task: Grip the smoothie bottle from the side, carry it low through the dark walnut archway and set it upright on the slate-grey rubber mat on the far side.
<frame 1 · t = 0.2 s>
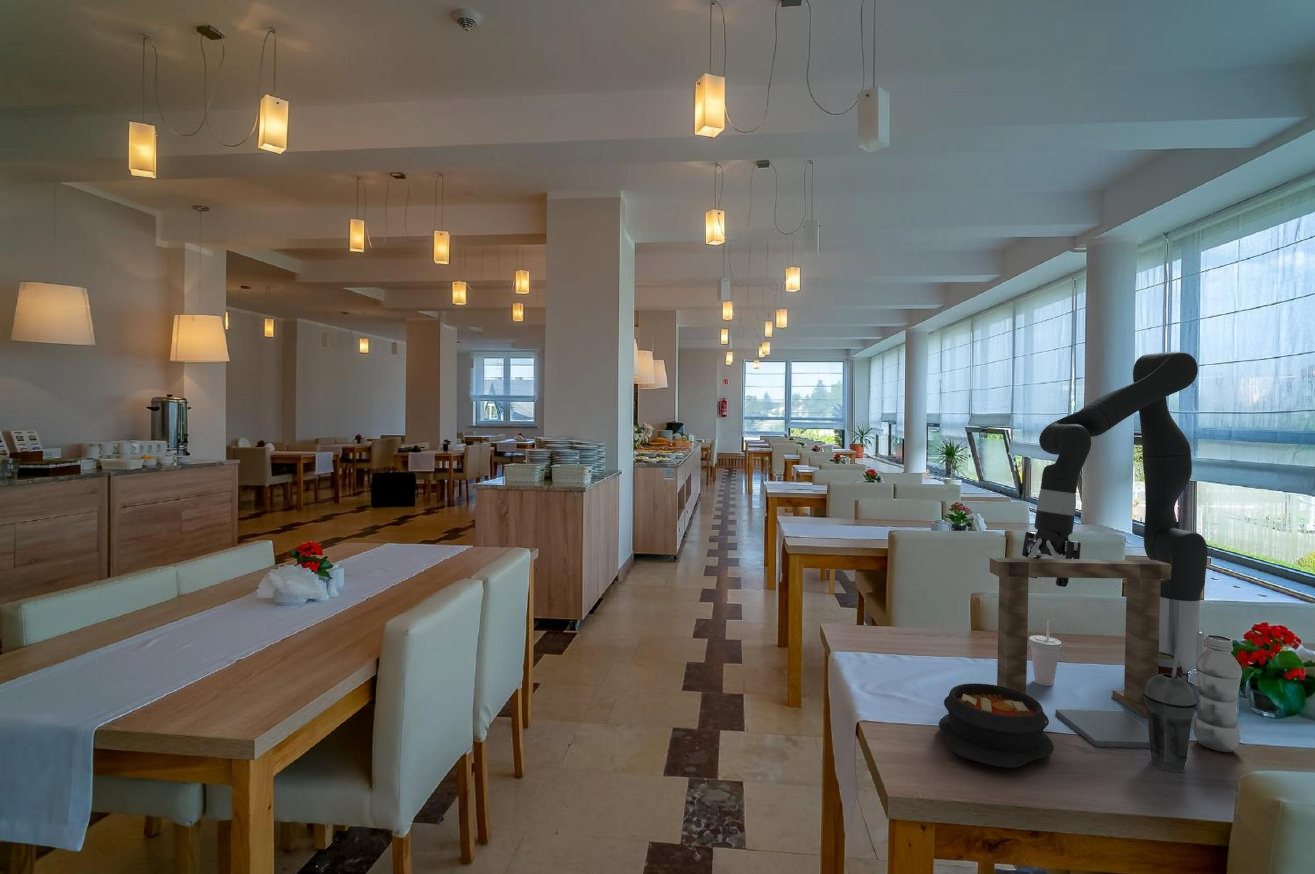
hand: (1046, 581, 150), 22 cm above the table, tool pointing down, fingers open, 8 cm apart
mate gourd: (1161, 693, 144), on the table
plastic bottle: (1216, 748, 119), on the table
archway: (1075, 705, 137), on the table
mat: (1109, 730, 126), on the table
casserole: (993, 745, 120), on the table
beverage cup: (1167, 766, 113), on the table
smoothie: (1044, 683, 149), on the table
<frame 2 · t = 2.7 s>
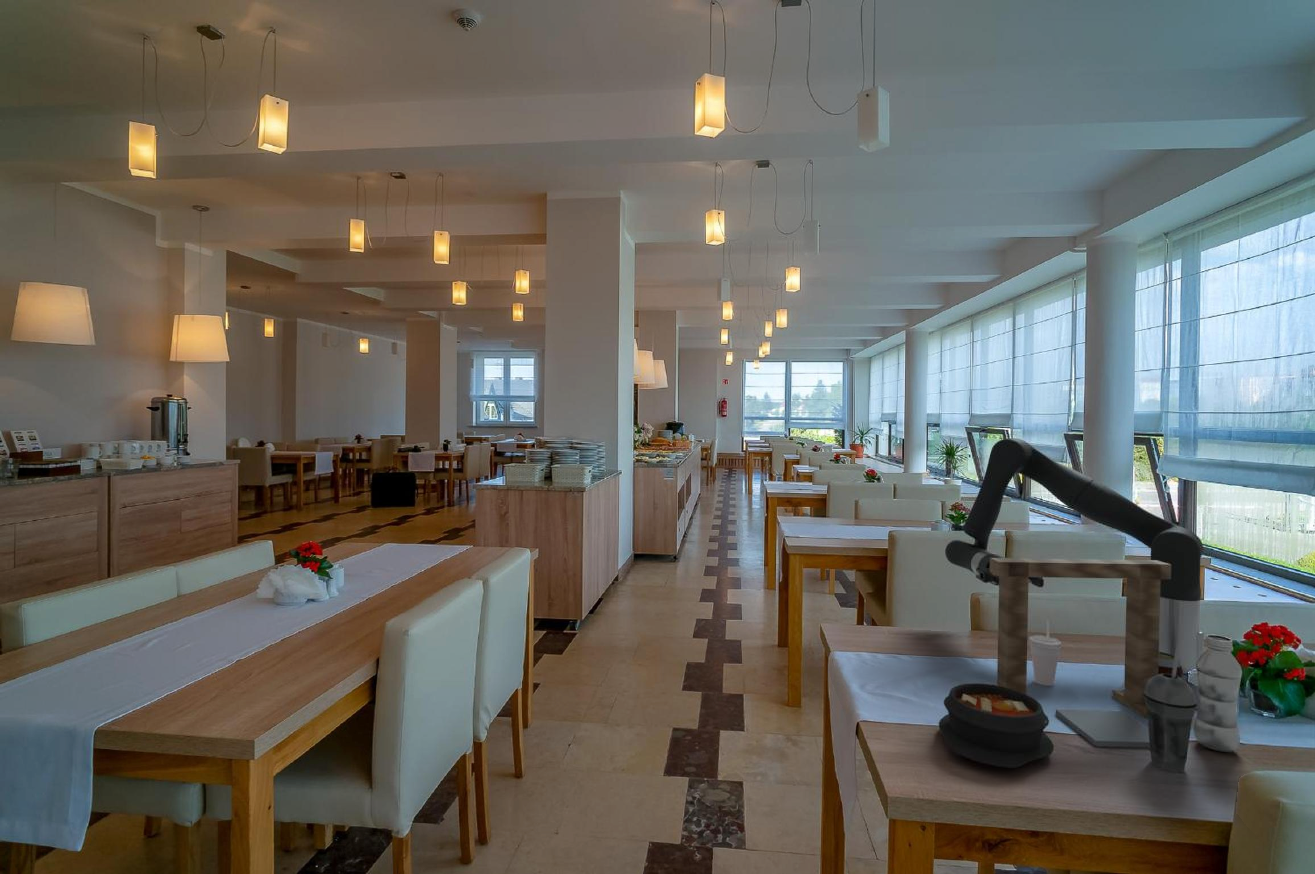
hand: (1023, 582, 158), 20 cm above the table, tool horizontal, fingers open, 8 cm apart
nothing on the table moved.
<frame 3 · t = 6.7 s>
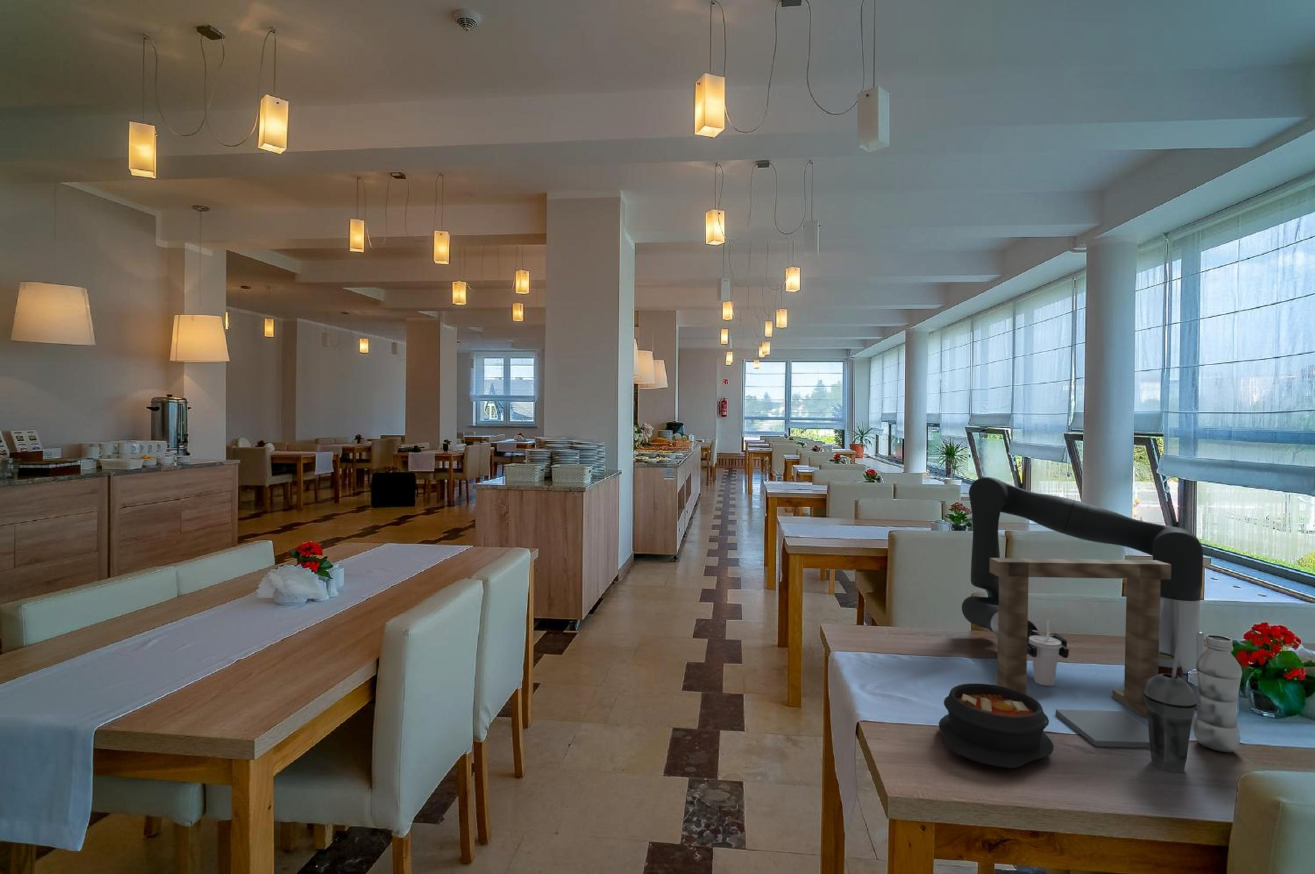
hand: (1050, 652, 146), 8 cm above the table, tool horizontal, fingers closed on smoothie, 6 cm apart
smoothie: (1044, 683, 149), on the table, touching gripper
everything else where it was.
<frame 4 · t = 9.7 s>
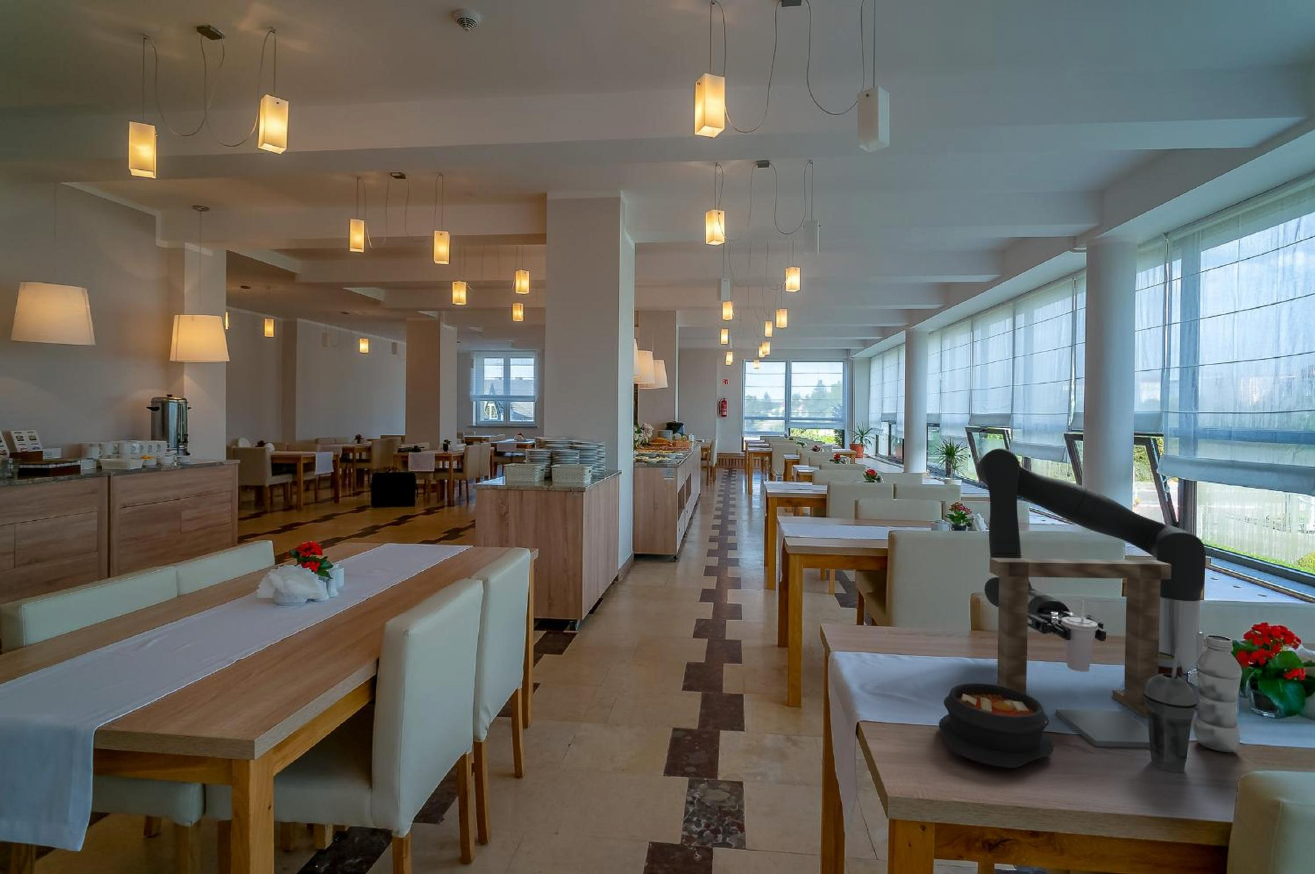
hand: (1086, 635, 133), 16 cm above the table, tool horizontal, fingers closed on smoothie, 6 cm apart
smoothie: (1078, 669, 135), point 8 cm above the table, touching gripper
everything else where it was.
when the fingers open (10 cm above the table, at t = 12.7 s): smoothie moves 2 cm, resting on mat.
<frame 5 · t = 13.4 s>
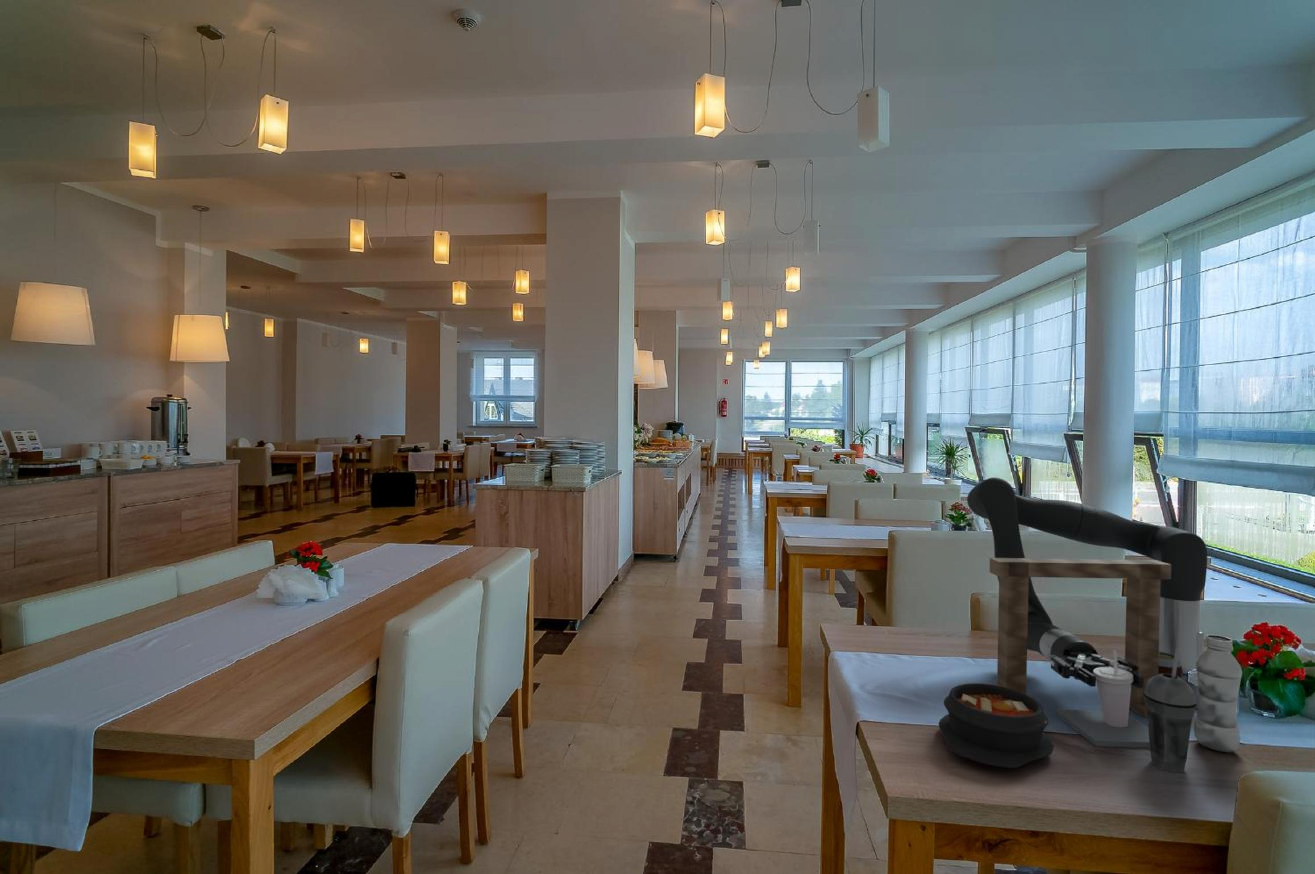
hand: (1117, 682, 124), 10 cm above the table, tool horizontal, fingers open, 8 cm apart
smoothie: (1115, 723, 126), point 1 cm above the table, touching gripper, mat
everything else where it was.
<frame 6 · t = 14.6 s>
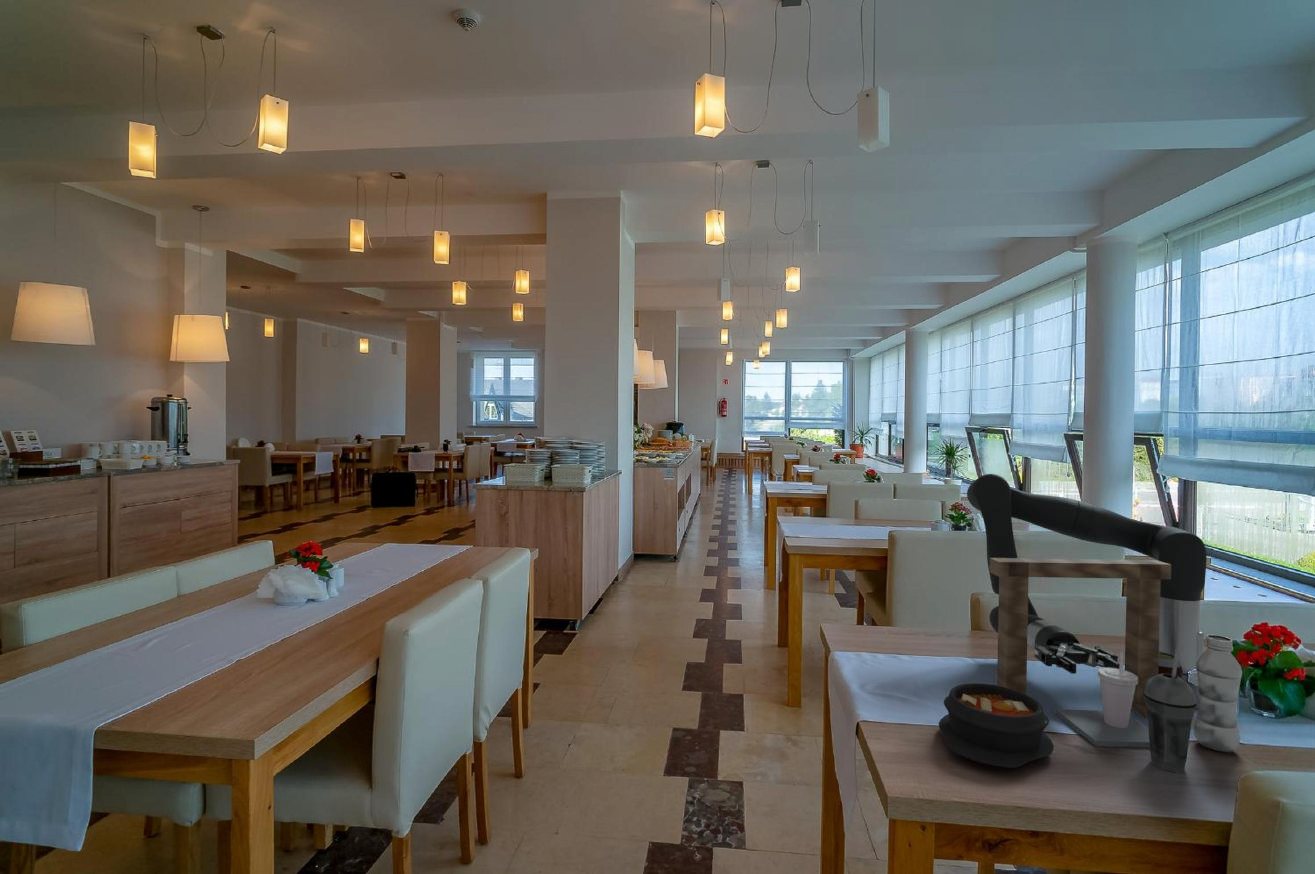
hand: (1096, 669, 130), 10 cm above the table, tool horizontal, fingers open, 8 cm apart
smoothie: (1115, 724, 126), point 1 cm above the table, touching mat
everything else where it was.
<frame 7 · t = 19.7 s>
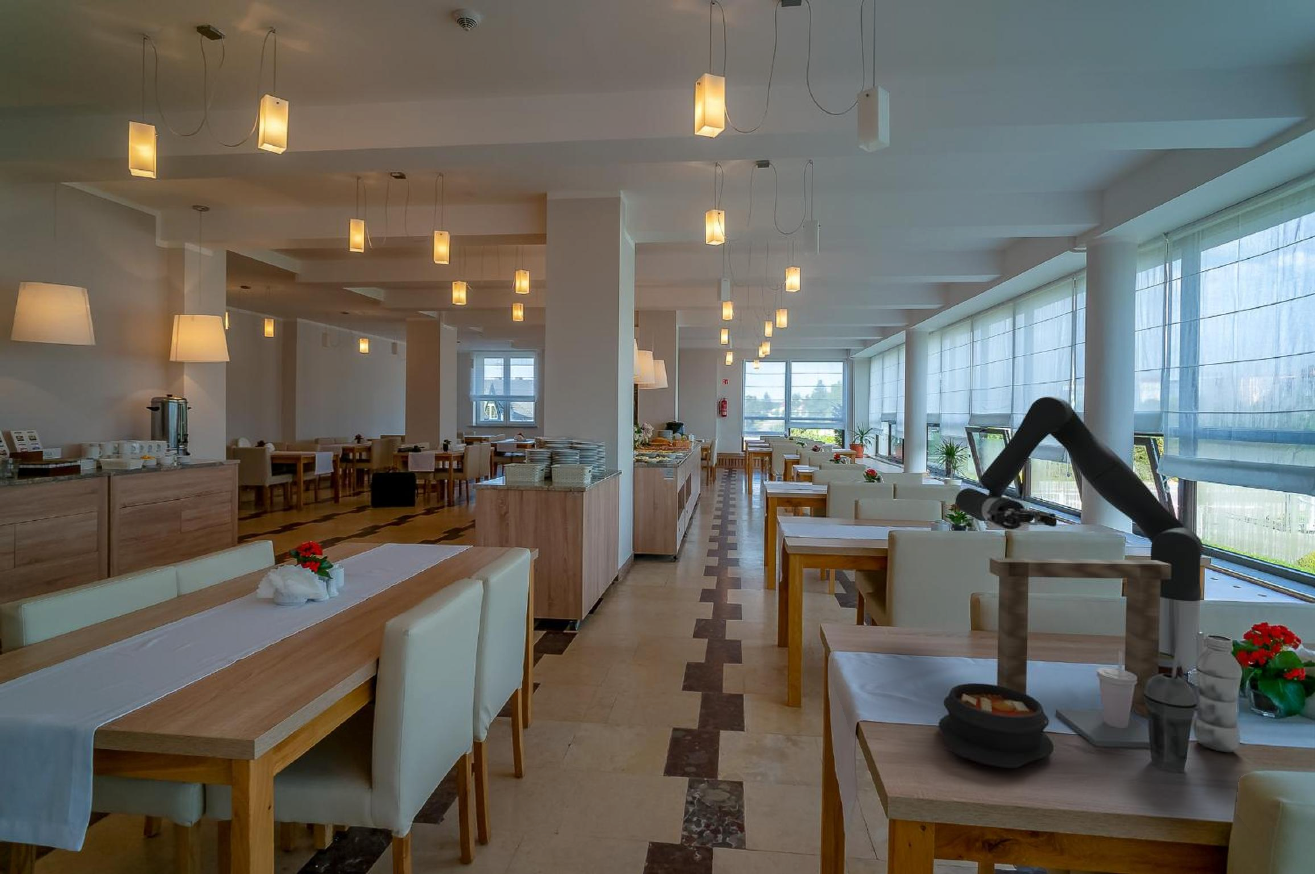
hand: (1035, 522, 156), 35 cm above the table, tool horizontal, fingers open, 8 cm apart
nothing on the table moved.
at the end: smoothie inside the target area on the mat (1.6 cm from its centre), point 0.8 cm above the mat's base; smoothie tilted 0°; the gripper is holding nothing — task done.
